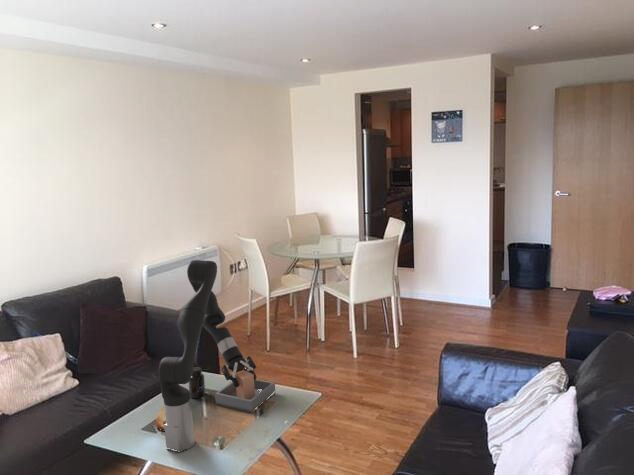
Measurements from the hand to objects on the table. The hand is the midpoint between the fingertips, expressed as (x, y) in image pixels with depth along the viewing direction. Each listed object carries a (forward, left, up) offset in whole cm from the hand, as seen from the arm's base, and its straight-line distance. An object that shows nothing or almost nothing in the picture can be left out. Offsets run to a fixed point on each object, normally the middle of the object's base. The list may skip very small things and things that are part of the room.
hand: (246, 383), depth 220 cm
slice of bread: (-24, +21, -8) cm, 33 cm away
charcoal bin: (0, +1, -8) cm, 8 cm away
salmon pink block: (0, +1, -7) cm, 7 cm away
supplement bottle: (-5, +23, -8) cm, 25 cm away
